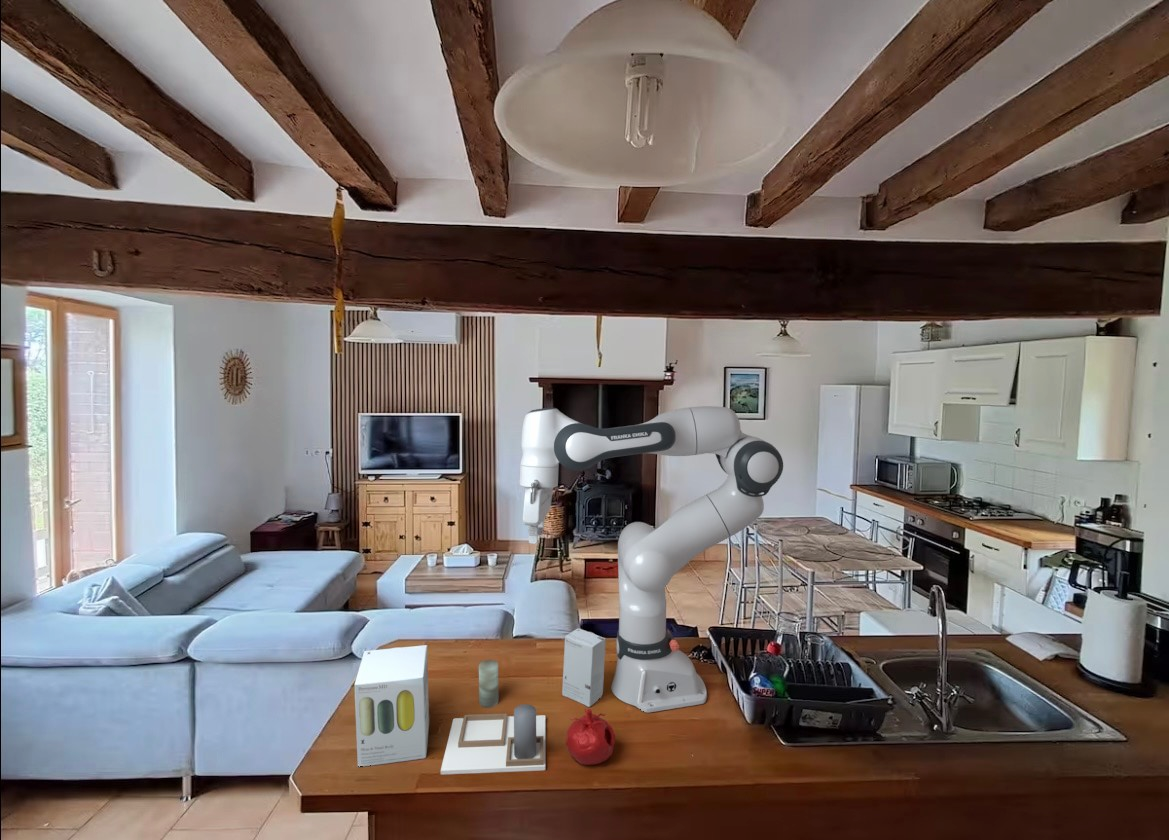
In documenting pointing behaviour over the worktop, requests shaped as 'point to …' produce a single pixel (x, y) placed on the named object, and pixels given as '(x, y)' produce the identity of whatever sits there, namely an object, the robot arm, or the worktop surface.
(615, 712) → the worktop surface
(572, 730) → the pomegranate
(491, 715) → the board
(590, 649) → the skincare box
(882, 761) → the worktop surface
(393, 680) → the supplement box
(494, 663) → the sage pin
